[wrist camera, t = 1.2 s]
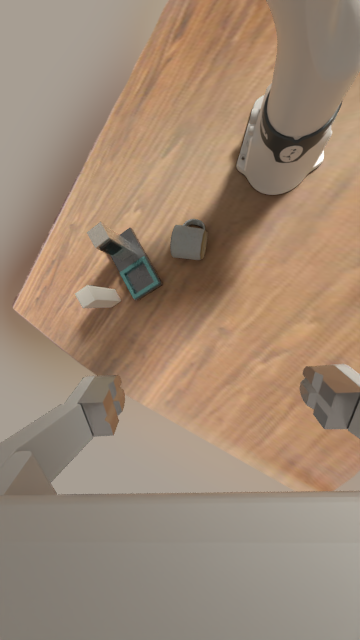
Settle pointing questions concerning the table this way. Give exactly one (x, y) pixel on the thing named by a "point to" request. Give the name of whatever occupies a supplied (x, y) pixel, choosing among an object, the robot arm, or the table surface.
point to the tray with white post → (127, 259)
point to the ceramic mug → (189, 240)
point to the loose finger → (97, 297)
